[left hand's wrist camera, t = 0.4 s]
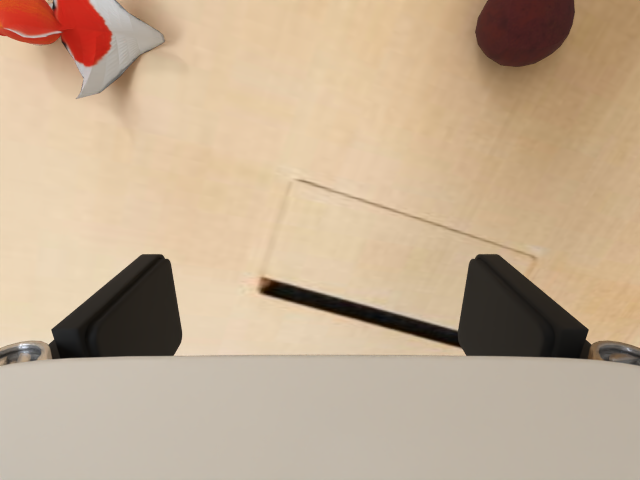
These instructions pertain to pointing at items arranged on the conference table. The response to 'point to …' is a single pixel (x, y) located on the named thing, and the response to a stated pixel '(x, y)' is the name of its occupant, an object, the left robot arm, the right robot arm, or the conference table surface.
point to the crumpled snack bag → (82, 35)
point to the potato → (523, 29)
